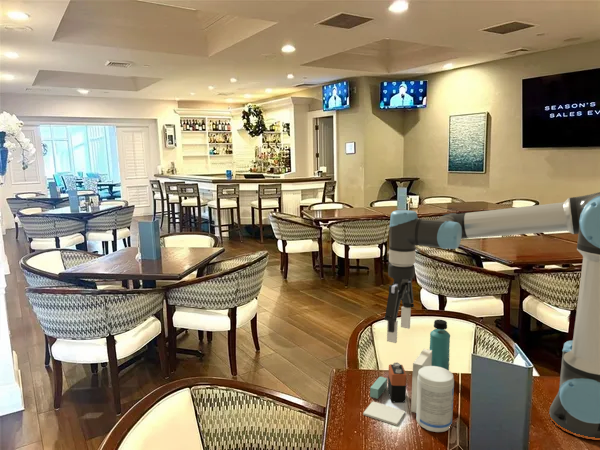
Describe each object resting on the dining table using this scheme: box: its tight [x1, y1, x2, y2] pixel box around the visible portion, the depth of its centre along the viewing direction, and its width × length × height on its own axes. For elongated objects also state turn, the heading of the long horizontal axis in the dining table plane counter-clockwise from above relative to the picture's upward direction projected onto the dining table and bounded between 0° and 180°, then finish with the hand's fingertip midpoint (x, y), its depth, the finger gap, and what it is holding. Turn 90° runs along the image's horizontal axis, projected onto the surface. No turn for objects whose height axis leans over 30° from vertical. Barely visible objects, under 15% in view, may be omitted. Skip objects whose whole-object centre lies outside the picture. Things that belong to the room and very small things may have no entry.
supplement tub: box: [415, 366, 455, 433], centre depth 122 cm, size 10×10×15 cm
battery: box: [387, 362, 407, 404], centre depth 136 cm, size 4×7×10 cm, turn 178°
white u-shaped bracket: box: [410, 348, 432, 414], centre depth 132 cm, size 2×11×15 cm, turn 149°
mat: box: [362, 400, 406, 427], centre depth 128 cm, size 10×7×1 cm
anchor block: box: [369, 376, 388, 400], centre depth 139 cm, size 2×8×3 cm, turn 149°
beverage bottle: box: [429, 319, 451, 371], centre depth 146 cm, size 6×7×20 cm
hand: (398, 334), depth 133 cm, fingers open, 11 cm apart
